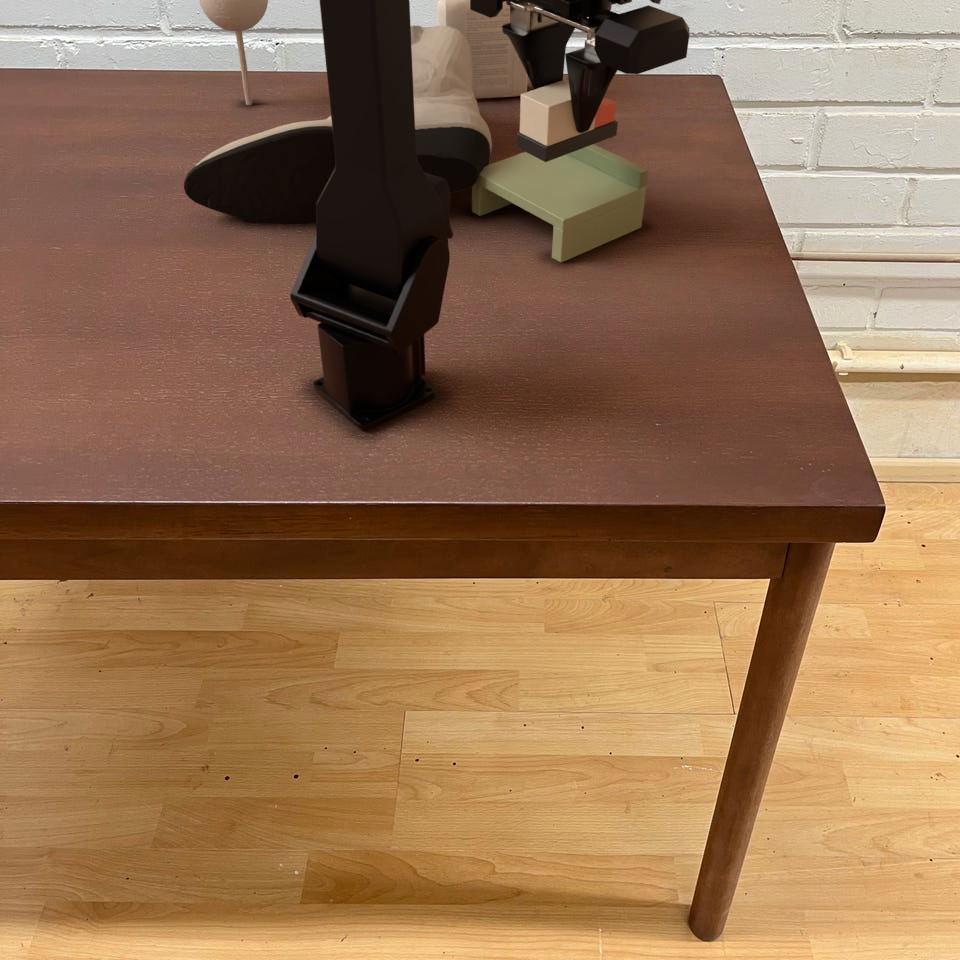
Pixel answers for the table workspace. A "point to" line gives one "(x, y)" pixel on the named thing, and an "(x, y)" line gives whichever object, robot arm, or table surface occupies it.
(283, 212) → the cowboy boot
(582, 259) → the table surface
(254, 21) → the lollipop
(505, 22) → the white printed package
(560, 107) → the block
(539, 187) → the shoe shelf
